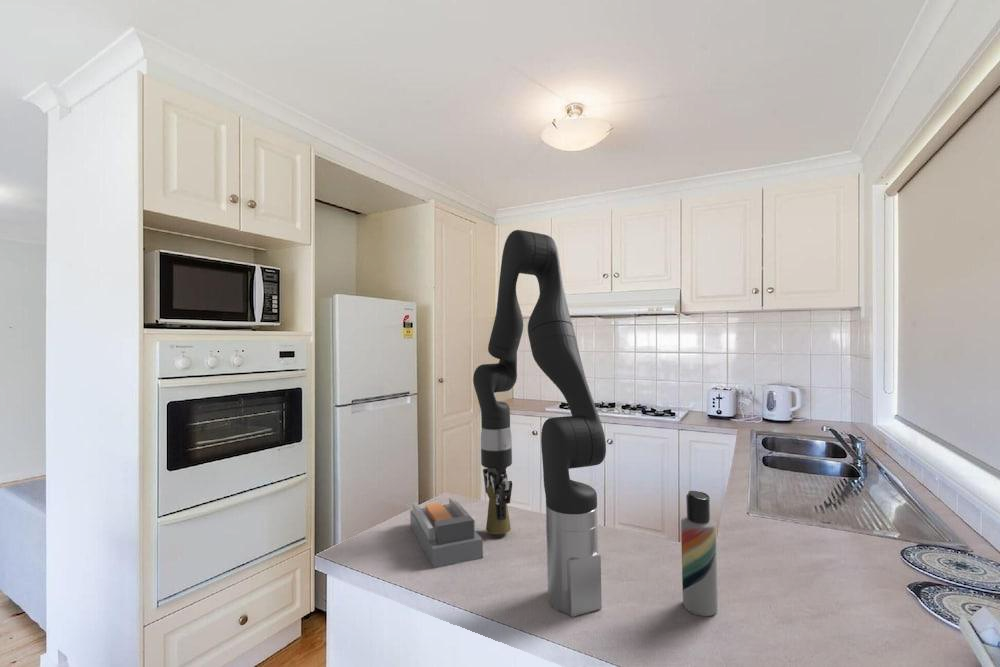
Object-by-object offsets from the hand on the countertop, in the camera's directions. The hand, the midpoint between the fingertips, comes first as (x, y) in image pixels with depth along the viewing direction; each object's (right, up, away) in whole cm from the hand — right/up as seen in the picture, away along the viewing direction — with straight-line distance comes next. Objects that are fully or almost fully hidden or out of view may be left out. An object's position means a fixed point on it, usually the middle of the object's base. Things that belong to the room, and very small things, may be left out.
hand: (497, 515), depth 114 cm
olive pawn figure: (0, -3, 0) cm, 3 cm away
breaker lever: (-13, -1, -2) cm, 13 cm away
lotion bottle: (+36, -4, -32) cm, 48 cm away
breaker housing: (-13, -5, -3) cm, 14 cm away
